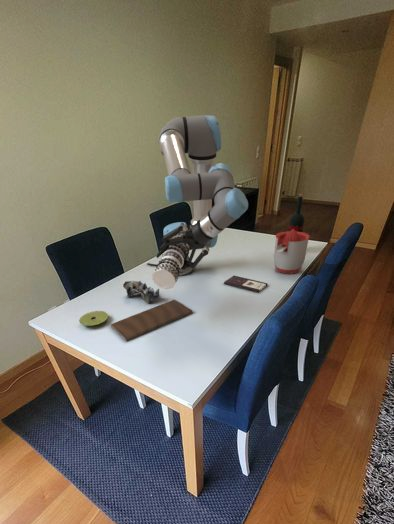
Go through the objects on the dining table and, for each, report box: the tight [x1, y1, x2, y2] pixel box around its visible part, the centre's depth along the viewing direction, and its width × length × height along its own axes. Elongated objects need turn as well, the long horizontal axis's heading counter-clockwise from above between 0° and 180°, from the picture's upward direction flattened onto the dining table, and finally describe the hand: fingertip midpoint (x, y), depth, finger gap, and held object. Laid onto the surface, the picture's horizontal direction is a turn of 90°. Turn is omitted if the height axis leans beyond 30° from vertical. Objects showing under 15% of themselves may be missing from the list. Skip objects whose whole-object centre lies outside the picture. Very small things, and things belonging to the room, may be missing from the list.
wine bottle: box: [287, 193, 305, 232], centre depth 161 cm, size 8×10×30 cm
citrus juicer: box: [273, 229, 311, 275], centre depth 143 cm, size 16×17×20 cm
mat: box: [78, 310, 109, 327], centre depth 117 cm, size 11×11×2 cm
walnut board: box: [110, 299, 193, 342], centre depth 116 cm, size 30×13×1 cm, turn 128°
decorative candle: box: [152, 233, 191, 290], centre depth 110 cm, size 9×9×25 cm
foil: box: [122, 280, 160, 304], centre depth 131 cm, size 12×11×15 cm
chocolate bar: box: [223, 275, 268, 293], centre depth 138 cm, size 9×1×18 cm
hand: (167, 263), depth 113 cm, fingers closed on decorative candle, 8 cm apart
